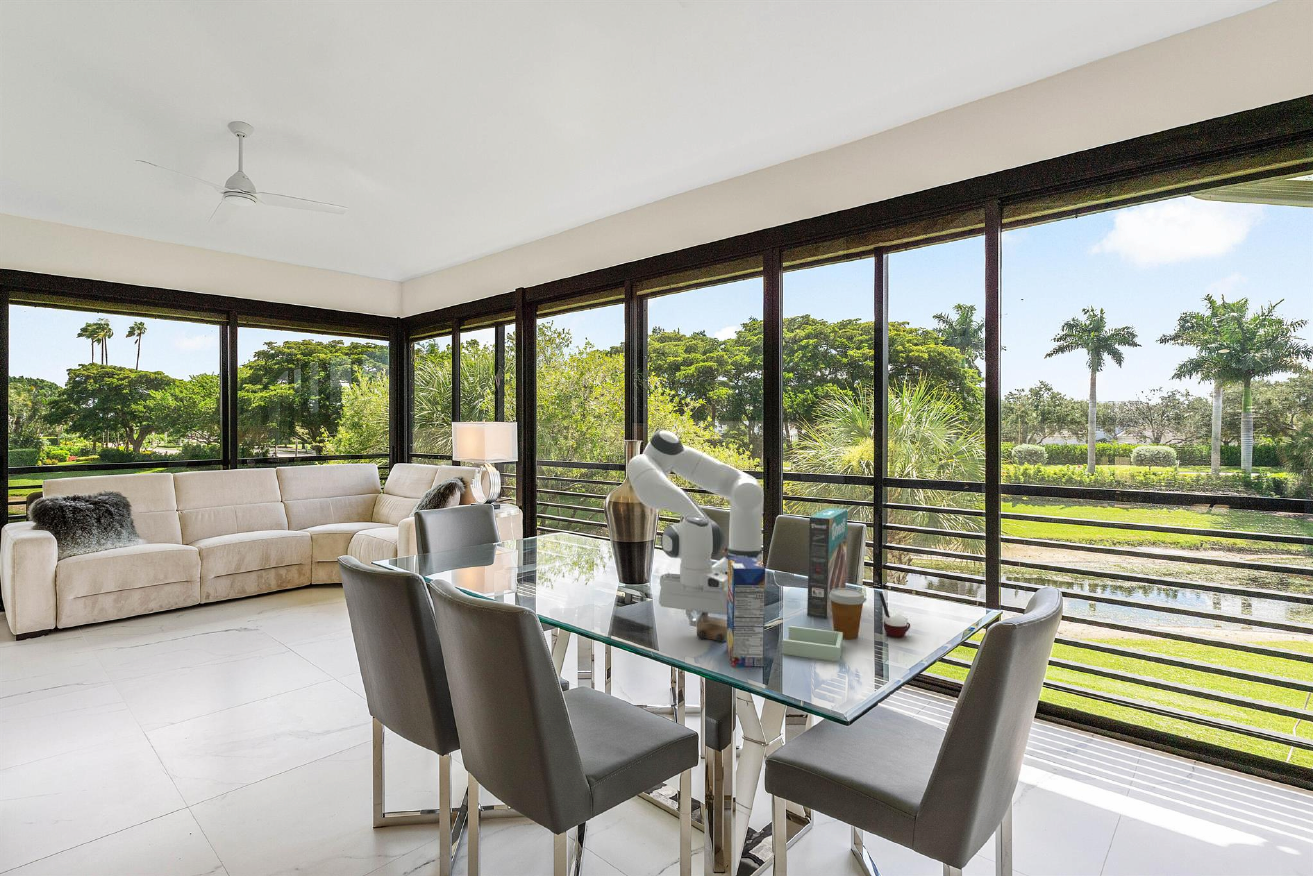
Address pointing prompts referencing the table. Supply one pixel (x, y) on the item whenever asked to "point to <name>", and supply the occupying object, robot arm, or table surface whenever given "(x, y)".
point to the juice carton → (745, 612)
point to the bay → (813, 643)
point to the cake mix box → (826, 559)
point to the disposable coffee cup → (846, 611)
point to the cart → (712, 628)
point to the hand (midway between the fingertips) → (694, 626)
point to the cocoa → (894, 621)
